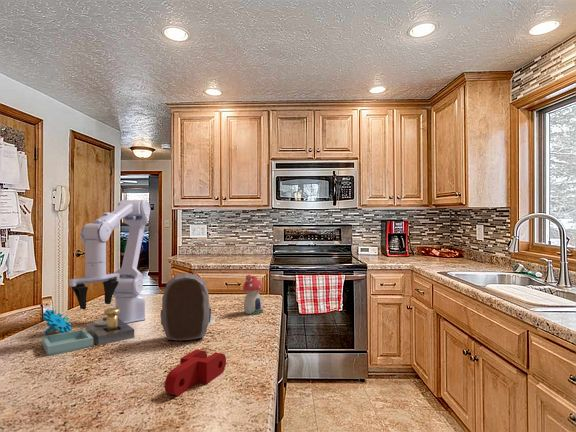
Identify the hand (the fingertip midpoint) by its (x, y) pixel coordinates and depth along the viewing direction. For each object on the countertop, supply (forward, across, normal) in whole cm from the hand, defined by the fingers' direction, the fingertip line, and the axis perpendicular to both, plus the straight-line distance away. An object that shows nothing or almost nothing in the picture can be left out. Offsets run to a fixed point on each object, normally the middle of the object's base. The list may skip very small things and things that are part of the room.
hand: (95, 306), depth 113 cm
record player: (+10, -31, +10) cm, 34 cm away
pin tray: (+10, +9, +1) cm, 13 cm away
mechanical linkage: (+10, +4, +49) cm, 50 cm away
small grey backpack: (+10, -15, +24) cm, 30 cm away
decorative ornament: (+10, -50, +22) cm, 55 cm away
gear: (+10, +4, -14) cm, 18 cm away
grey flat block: (+10, -4, +1) cm, 10 cm away
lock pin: (+10, -3, +4) cm, 11 cm away
